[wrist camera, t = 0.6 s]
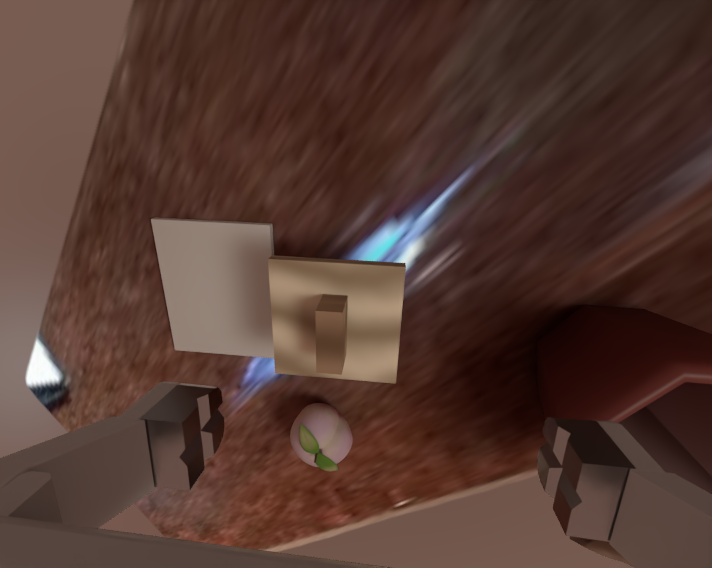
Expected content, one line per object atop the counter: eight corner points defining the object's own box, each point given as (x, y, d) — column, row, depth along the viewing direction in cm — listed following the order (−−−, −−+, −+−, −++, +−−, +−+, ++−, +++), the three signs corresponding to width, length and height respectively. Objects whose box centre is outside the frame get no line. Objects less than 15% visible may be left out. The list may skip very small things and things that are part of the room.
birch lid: (271, 255, 39) (253, 272, 34) (405, 263, 38) (406, 281, 33) (278, 367, 44) (264, 395, 39) (395, 377, 43) (395, 407, 38)
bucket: (522, 436, 56) (610, 643, 33) (480, 315, 50) (554, 471, 27) (704, 394, 51) (960, 610, 28) (684, 251, 44) (1003, 379, 21)
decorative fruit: (287, 404, 59) (267, 454, 50) (325, 379, 56) (311, 427, 47) (327, 441, 61) (314, 496, 52) (364, 418, 58) (358, 472, 49)
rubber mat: (155, 217, 49) (150, 219, 48) (272, 223, 48) (269, 225, 47) (178, 346, 57) (175, 349, 56) (280, 354, 55) (278, 358, 54)
